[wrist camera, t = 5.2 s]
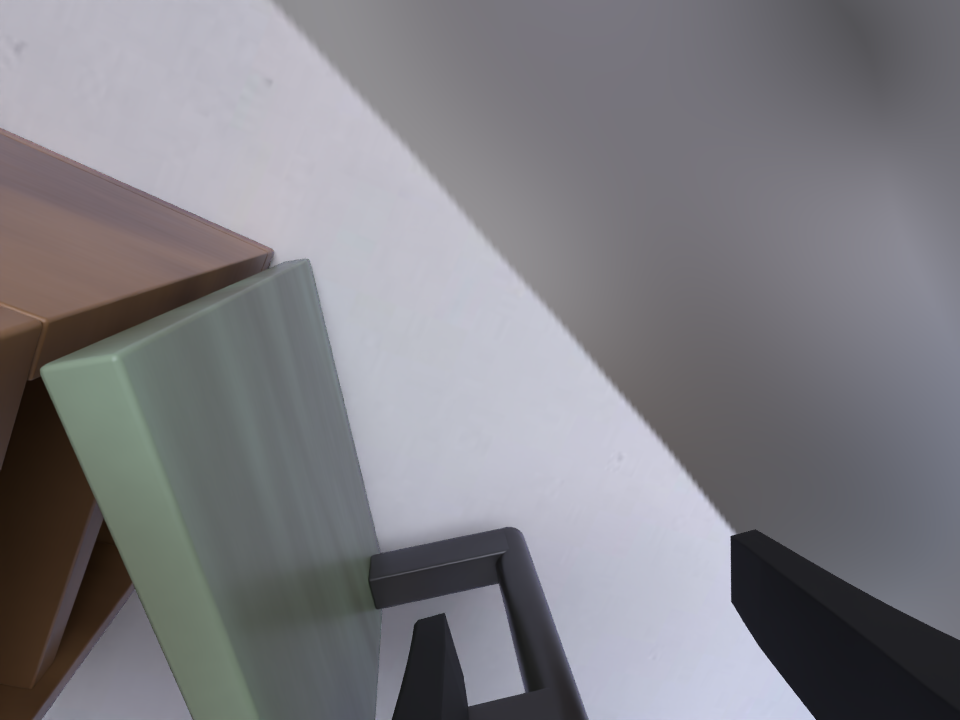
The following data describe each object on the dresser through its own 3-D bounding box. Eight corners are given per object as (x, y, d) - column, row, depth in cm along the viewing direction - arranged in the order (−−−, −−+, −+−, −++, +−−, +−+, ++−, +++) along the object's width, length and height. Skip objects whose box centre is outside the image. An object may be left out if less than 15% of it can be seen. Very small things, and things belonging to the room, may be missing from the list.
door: (476, 232, 15) (600, 275, 5) (518, 543, 19) (638, 904, 9) (282, 262, 15) (33, 367, 5) (363, 575, 18) (313, 996, 8)
